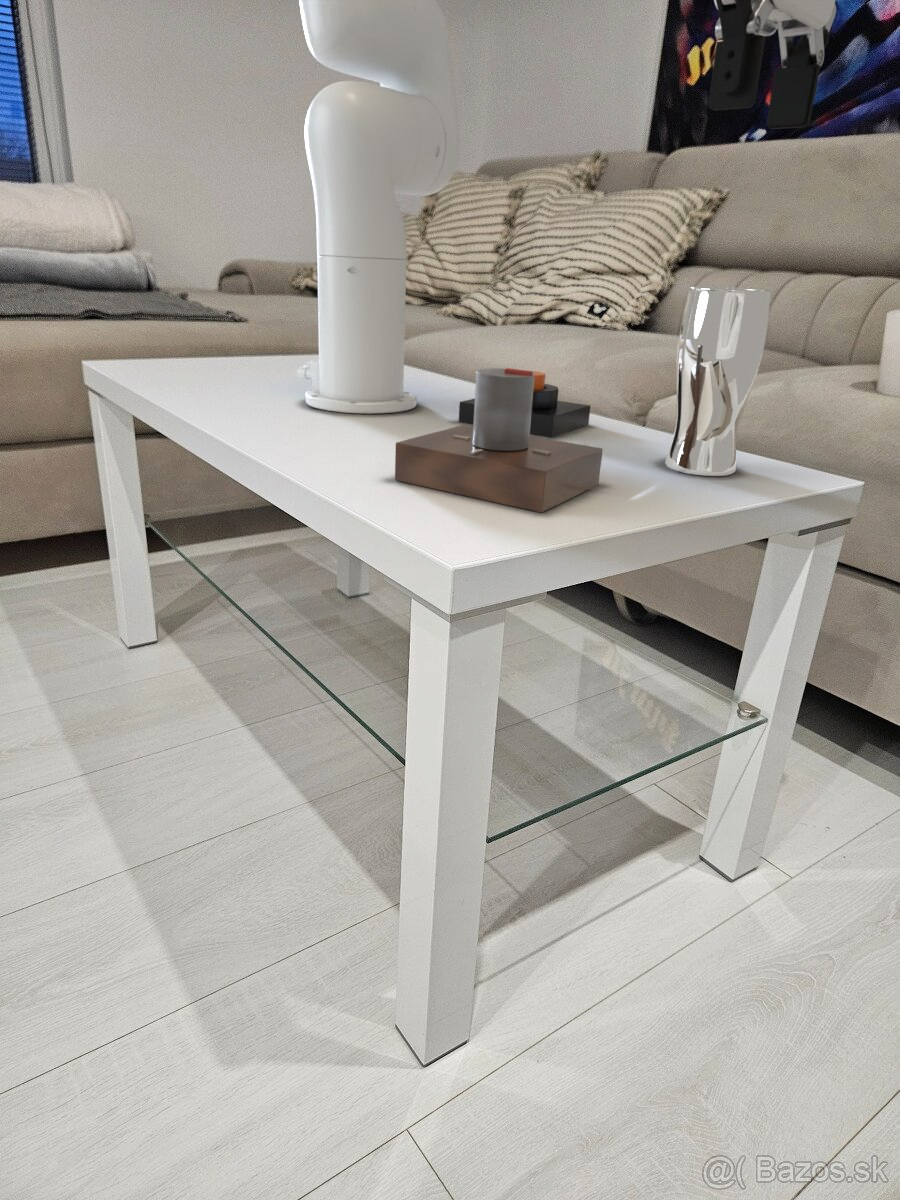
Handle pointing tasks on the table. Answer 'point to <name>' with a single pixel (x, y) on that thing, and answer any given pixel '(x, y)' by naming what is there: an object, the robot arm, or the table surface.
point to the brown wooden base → (499, 468)
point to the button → (539, 380)
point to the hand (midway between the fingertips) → (760, 118)
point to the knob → (503, 409)
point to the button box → (543, 413)
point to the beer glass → (715, 375)
